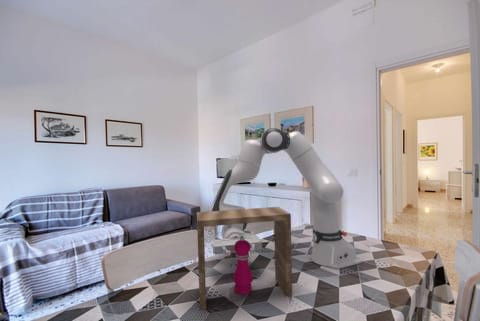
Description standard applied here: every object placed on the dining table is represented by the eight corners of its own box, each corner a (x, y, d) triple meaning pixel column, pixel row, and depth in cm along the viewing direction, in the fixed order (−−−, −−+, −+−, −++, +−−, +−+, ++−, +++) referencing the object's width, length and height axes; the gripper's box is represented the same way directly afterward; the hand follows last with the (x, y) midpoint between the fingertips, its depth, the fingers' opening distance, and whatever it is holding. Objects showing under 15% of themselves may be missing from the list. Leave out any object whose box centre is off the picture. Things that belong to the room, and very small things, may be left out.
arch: (280, 278, 96) (278, 206, 95) (292, 295, 84) (290, 213, 84) (199, 289, 90) (196, 212, 89) (200, 309, 78) (197, 221, 77)
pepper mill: (251, 296, 85) (250, 240, 84) (231, 294, 86) (230, 239, 86) (254, 285, 92) (253, 233, 91) (235, 283, 93) (234, 232, 93)
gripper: (210, 235, 103) (213, 247, 90) (256, 231, 107) (265, 242, 94) (210, 249, 103) (213, 263, 90) (256, 245, 107) (265, 258, 94)
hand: (240, 252), depth 92 cm, fingers open, 8 cm apart
